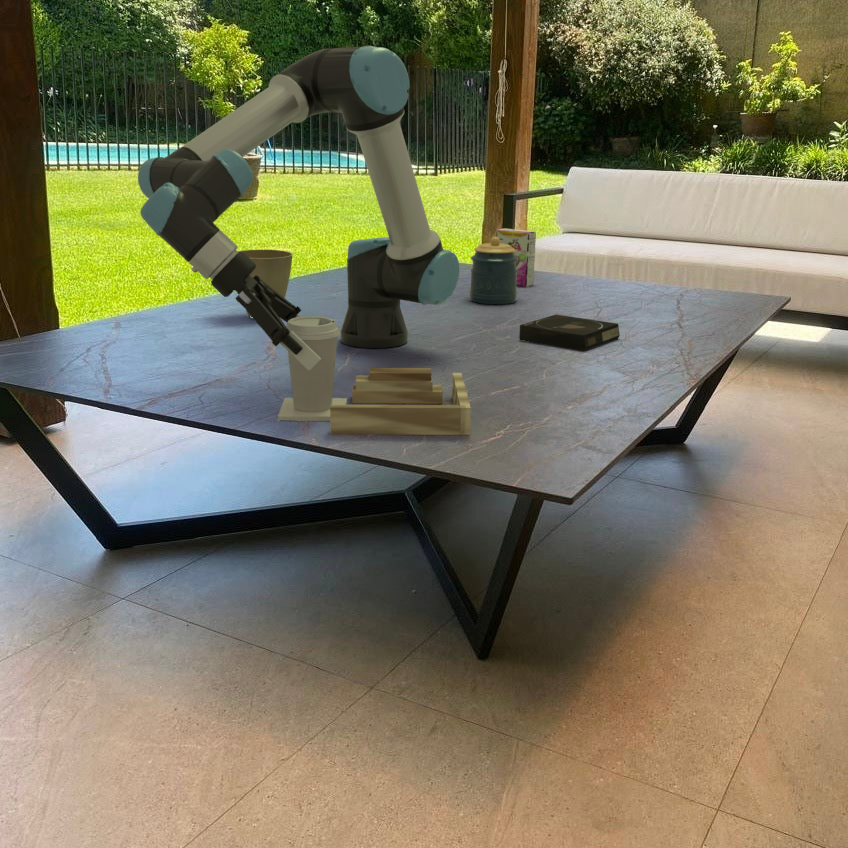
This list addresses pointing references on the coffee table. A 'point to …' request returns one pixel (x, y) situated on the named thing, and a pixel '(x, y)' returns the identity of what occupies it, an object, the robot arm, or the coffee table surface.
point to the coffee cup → (317, 383)
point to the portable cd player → (569, 332)
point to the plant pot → (272, 268)
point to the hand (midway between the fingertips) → (318, 354)
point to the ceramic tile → (292, 414)
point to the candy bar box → (521, 252)
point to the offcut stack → (397, 387)
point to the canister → (494, 273)
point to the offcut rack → (406, 417)
